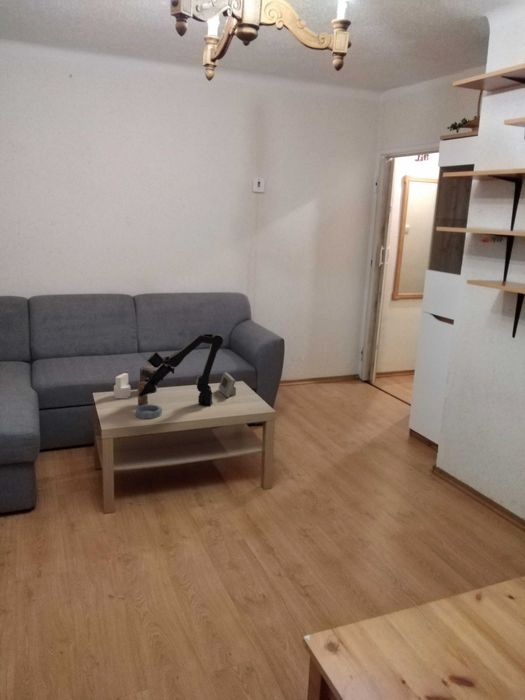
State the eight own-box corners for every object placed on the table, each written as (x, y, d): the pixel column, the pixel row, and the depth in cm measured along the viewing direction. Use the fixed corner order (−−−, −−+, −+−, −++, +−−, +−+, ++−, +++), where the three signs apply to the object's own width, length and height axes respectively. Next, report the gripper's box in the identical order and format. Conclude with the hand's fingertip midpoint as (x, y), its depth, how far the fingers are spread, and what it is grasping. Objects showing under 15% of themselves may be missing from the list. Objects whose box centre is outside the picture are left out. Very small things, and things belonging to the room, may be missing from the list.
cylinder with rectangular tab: (119, 392, 312) (118, 372, 309) (133, 394, 310) (133, 374, 307) (111, 397, 304) (110, 376, 301) (125, 399, 301) (125, 378, 299)
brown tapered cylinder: (149, 404, 295) (148, 382, 292) (145, 407, 290) (144, 384, 287) (140, 403, 296) (139, 381, 293) (136, 406, 291) (135, 384, 288)
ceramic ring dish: (165, 411, 286) (165, 406, 285) (155, 419, 273) (155, 414, 273) (141, 408, 288) (141, 403, 288) (131, 417, 276) (130, 411, 275)
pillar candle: (136, 391, 315) (136, 366, 312) (147, 387, 324) (147, 362, 320) (150, 394, 311) (149, 369, 307) (160, 390, 319) (160, 365, 316)
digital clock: (218, 389, 324) (218, 371, 322) (233, 389, 326) (233, 371, 323) (220, 398, 309) (221, 380, 306) (236, 397, 310) (237, 379, 308)
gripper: (150, 358, 297) (129, 378, 298) (148, 367, 279) (127, 389, 280) (165, 372, 300) (145, 392, 301) (164, 382, 282) (143, 403, 283)
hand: (139, 393), depth 291 cm, fingers open, 7 cm apart
